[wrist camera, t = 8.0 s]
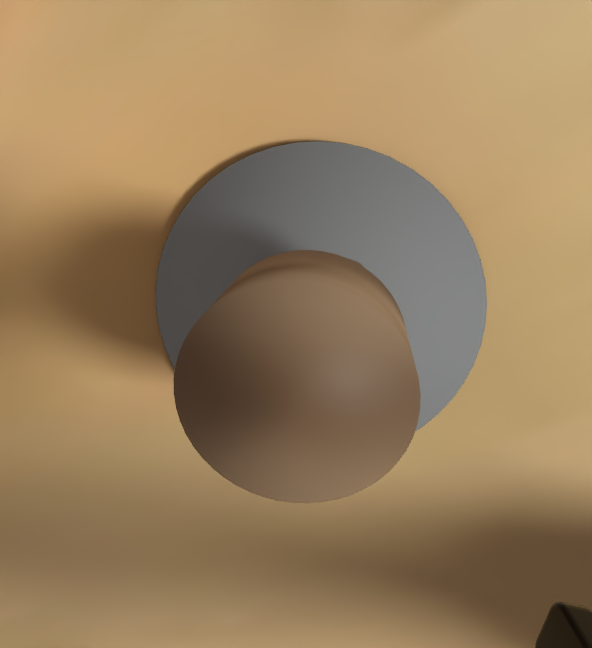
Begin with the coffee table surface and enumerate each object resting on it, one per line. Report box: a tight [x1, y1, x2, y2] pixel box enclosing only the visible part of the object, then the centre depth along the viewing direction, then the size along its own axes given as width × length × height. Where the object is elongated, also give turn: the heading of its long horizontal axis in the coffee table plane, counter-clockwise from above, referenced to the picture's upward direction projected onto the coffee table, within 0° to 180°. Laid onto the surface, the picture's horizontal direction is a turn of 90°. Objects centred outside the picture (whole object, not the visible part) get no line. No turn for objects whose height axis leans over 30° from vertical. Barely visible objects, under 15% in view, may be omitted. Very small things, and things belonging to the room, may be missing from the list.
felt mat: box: [156, 141, 487, 431], centre depth 18 cm, size 12×12×1 cm
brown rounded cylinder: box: [174, 250, 421, 503], centre depth 15 cm, size 6×6×6 cm
